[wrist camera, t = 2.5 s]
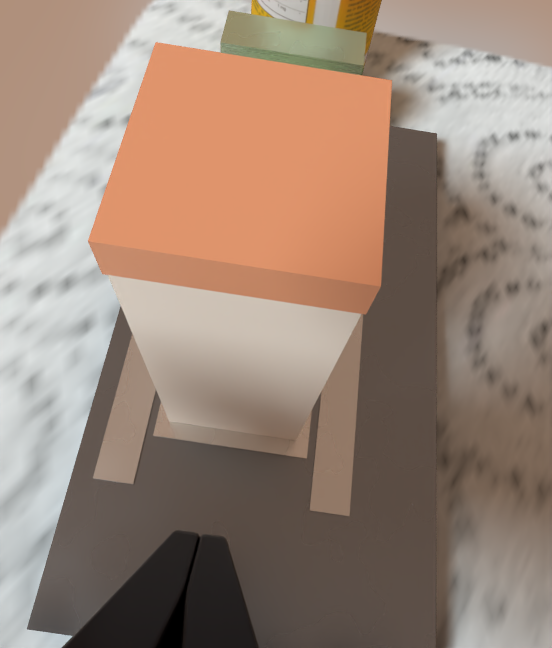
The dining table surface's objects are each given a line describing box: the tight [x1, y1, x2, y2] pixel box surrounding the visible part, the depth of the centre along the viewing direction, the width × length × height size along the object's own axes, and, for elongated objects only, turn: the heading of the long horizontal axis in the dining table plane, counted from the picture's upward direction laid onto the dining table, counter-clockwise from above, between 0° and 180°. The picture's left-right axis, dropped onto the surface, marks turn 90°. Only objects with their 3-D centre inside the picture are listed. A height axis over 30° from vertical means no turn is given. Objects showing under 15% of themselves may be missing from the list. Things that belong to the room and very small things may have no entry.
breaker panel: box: [27, 11, 437, 648], centre depth 17 cm, size 20×11×5 cm, turn 172°
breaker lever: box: [88, 42, 392, 440], centre depth 13 cm, size 4×4×10 cm
